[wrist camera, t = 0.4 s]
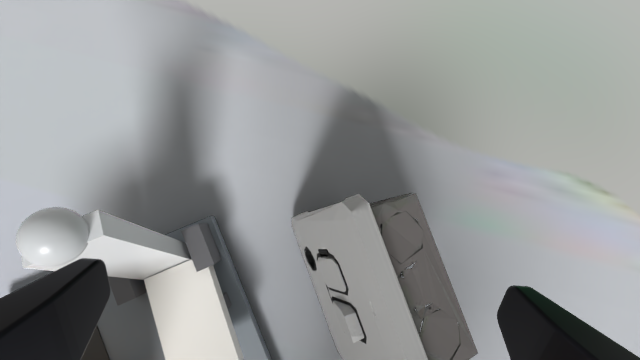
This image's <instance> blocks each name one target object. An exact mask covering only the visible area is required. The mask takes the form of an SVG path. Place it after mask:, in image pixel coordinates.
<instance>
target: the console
mask: <svg viewBox="0 0 640 360" xmlns="http://www.w3.org/2000/svg"><path fill="white" fill-rule="evenodd" d="M166 236H169V237H171V238H174V239H176V240H179V241H182V242H184V243H186V245H187V248H188V251H189V253H190V256H191V259H192V261H193V263H194V266H195V268H196V271H197V272H198V271H200V270H203V269H205V268H207V267H210V266H212V265H213V267H214V270H215V273H216V276H217V279H218V282H219V285H220V288H221V291H222V294H223V297H224V300H225V303H226V306H227V309H228V312H229V315H230V318H231V321H232V324H233V327H234V330H235V333H236V336H237V339H238V342H239V345H240V348H241V351H242V354H243V357H244V359H243V360H272V359H271V357H270V354H269V352H268V349H267V347H266V344H265V342H264V339H263V337H262V334H261V332H260V329H259V327H258V324H257V322H256V319H255V317H254V314H253V312H252V309H251V307H250V304H249V302H248V299H247V297H246V294H245V292H244V289H243V287H242V284H241V282H240V279H239V277H238V274H237V272H236V269H235V267H234V264H233V262H232V259H231V257H230V254H229V252H228V249H227V247H226V244H225V242H224V239H223V237H222V234H221V232H220V229H219V227H218V224H217V222H216V219H215V217H214V216H209V217H207V218H204V219H202V220H200V221H197V222H195V223H192V224H190V225H187V226H185V227H183V228H180V229H178V230H175V231H173V232H170V233H168V234H166ZM108 279H109V283H110V289H111V291H110V297H109V300H108V302H107V304H106V306H105V309H104V311H103V313H102V315H101V317H100V319H99V321H98V324H97V326H96V328H95V330H94V332H93V334H92V337H91V339H90V341H89V343H88V345H87V347H86V349H85V352H84V354H83V356H82V358H81V360H165V356H164V352H163V349H162V345H161V341H160V338H159V334H158V330H157V327H156V323H155V319H154V316H153V312H152V308H151V305H150V301H149V297H148V294H147V290H146V286H145V283H144V280H140V279H130V278H120V277H110V276H108Z"/></svg>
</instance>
